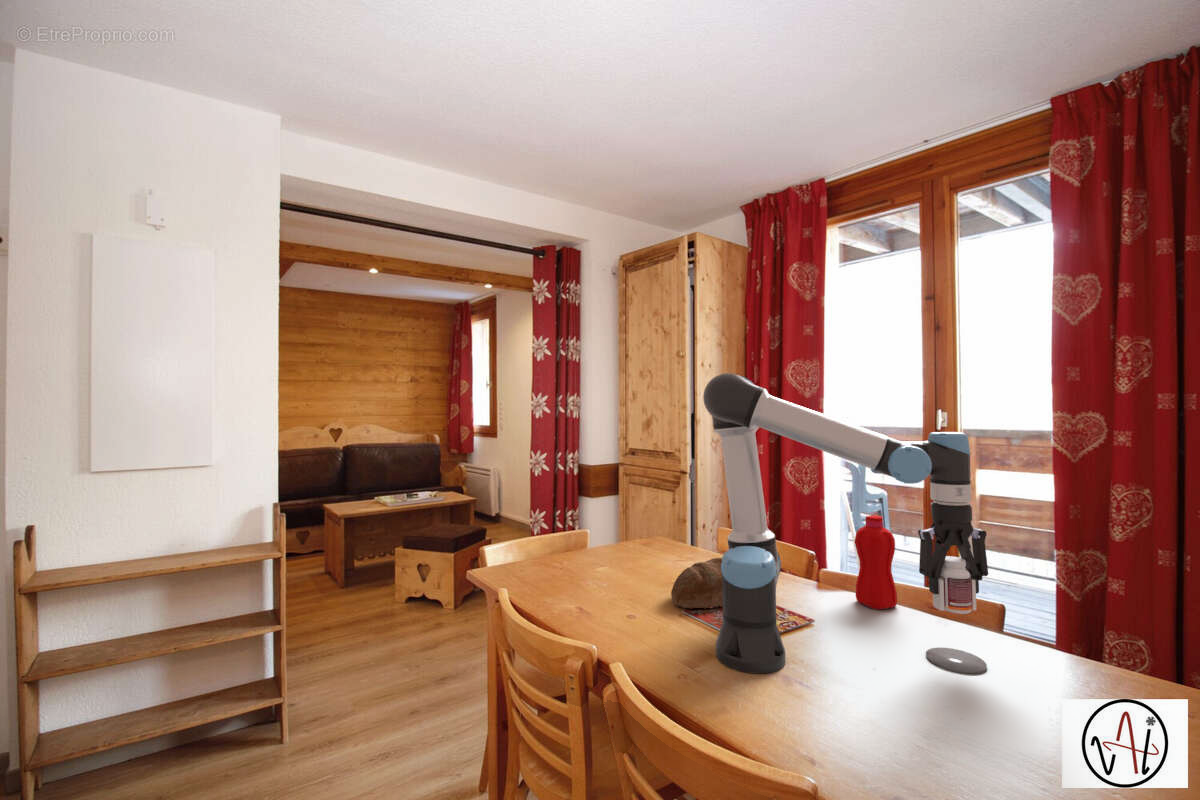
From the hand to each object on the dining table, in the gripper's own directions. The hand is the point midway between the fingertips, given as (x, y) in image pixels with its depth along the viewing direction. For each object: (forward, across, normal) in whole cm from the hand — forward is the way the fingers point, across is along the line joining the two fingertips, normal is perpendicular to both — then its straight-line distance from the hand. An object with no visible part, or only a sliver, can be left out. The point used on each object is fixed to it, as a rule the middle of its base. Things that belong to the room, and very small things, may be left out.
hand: (954, 608), depth 115 cm
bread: (+12, -44, +41) cm, 62 cm away
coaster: (+12, 0, 0) cm, 12 cm away
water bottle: (+12, 0, +35) cm, 37 cm away
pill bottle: (+1, 0, 0) cm, 1 cm away
